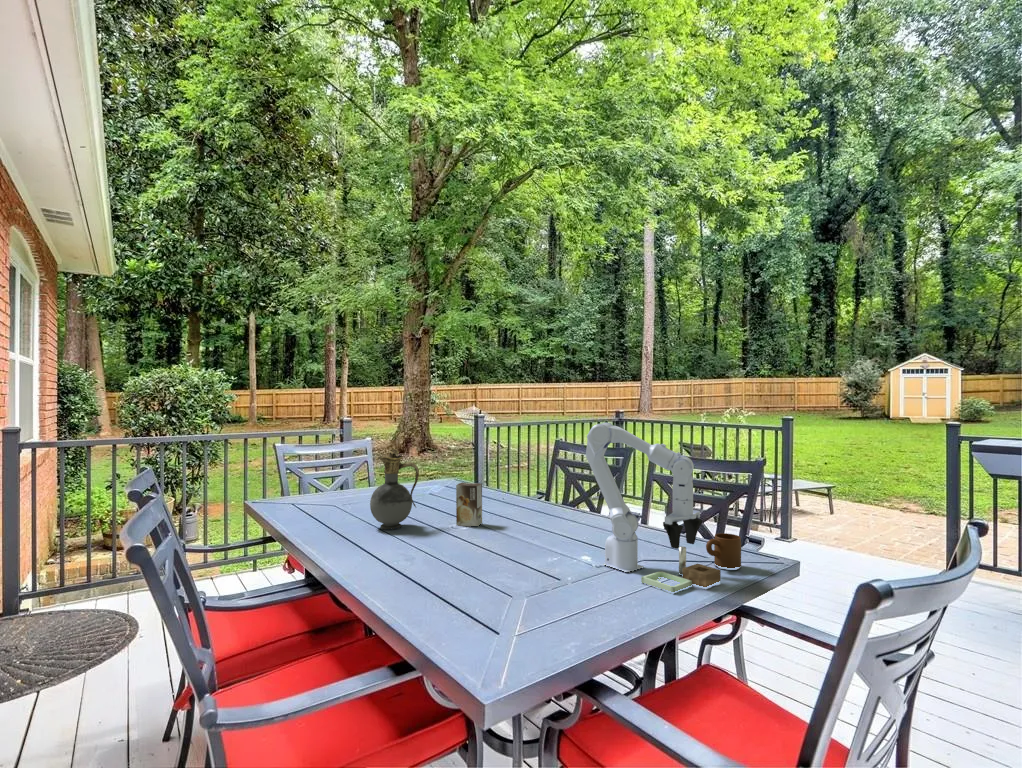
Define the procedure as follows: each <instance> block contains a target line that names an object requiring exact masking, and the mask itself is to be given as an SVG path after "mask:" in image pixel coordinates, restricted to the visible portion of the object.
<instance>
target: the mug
mask: <svg viewBox="0 0 1022 768" xmlns="http://www.w3.org/2000/svg"><path fill="white" fill-rule="evenodd" d="M713 546H714V548H712V547H713ZM705 549H706V552H707V554H709V555H710V557H711V556H713V557H714V563H713V564H714V565H715V564H716V565H718V566H721V567H727V568H735V567H740V566H741V567H742V538H741V536H739V535H737V534H734V533H733V534H732V533H726V532H725V533H724V532H723V533H721V532H720V533H716V534H715V535H714V538H710V539H708V541H707V542H706V545H705Z"/></svg>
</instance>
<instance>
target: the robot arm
mask: <svg viewBox="0 0 1022 768" xmlns="http://www.w3.org/2000/svg"><path fill="white" fill-rule="evenodd" d="M586 438H587V440H586V441H587V443H586V451H585V457H586V460H587V462H588V465H589V466H590V470H591V471H592V473H593V475H594V478H595V480H596V482H597V485H598V487H599V490H600V492H601V494H602V497H603V498H604V501H605V504H606V505H607V509H608V510H609V520H610V521H611V532H612V534H611V535H608V537H607V538H606V539H605V543H604V563H603V565H602V566H604V565H606V566H605V567H607V566H610V567H613V568H616V569H619V570H622V571H624V572H623V573H625V572H629V573H631V572H630V571H632V572H635V571H634V570H636V571H638V570H637V569H639V570H641V569H640V568H642V567H644V566H643V565H640V564H639V563H638V556H639V555H638V551H639V549H638V548H639V547H638V546H639V545H638V542H639V541H638V540H639V539H638V538H639V537H638V535H637V534H636V532H637V530H638V528H639V520H638V517H637V516H636V515H634V514H633V513H632V511H631V510H630V507H629V506H628V505H627V504H626V502H625V500H624V498H623V496H622V494H621V491H620V489H619V487H618V485H617V483H616V480H615V479H614V476H613V473H612V472H611V469H610V467H609V465H608V462H607V460H606V458H605V454H606V452H607V449H608V446H609V445H610V444H616V443H617V444H618V443H622V444H625V445H626V446H628V447H631V448H633V449H635V450H637V451H638V452H641V453H642V454H646V457H647V459H648V461H649V462H651V463H653V464H654V465H656V466H658V467H660V468H663V469H665V470H666V471H671V474H672V475H673V477H672V479H673V481H672V512H671V513H670V514H668V515H666V516H664V521H663V522H662V526H663V528H664V530H665V531H666V533H667V536H668V540H669V543H670V544H669V545H670V548H671V549H677V550H679V547H680V540H681V534H682V531H683V528H684V530H685V540H686V543H687V544H690V545H694V544H695V543H696V538H697V535H698V532H699V529H700V527H701V525H702V524H703V519H700V518H701V511H700V510H696V509H694V483H693V480H694V478H693V471H694V470H695V469H694V467H695V465H694V462H693V461H692V459H691V458H689V456H687V455H682V453H681V452H678V451H677V452H676V451H674V450H671V449H670V448H668V447H667V445H666V444H664V443H661V444H660V443H655V444H651V443H650V442H647V441H645V440H644V439H642V438H640V437H638V436H636V435H634V434H633V433H631V432H629V431H628V430H625V429H624V428H622V427H620V426H617V425H613V424H612V423H611V422H602V423H597V424H596V423H595V425H593V426H592V427H591V428H590V430H589V431H588V433H587V435H586ZM679 522H683V525H681V524H679ZM610 567H609V568H610ZM613 568H612V569H613ZM644 568H645V567H644ZM616 569H615V570H616ZM642 569H643V568H642ZM619 570H618V571H619ZM622 571H621V572H622Z"/></svg>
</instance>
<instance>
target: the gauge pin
mask: <svg viewBox="0 0 1022 768" xmlns="http://www.w3.org/2000/svg"><path fill="white" fill-rule="evenodd" d="M685 567H687V547H686V546H679V549H678V574H679V573H680V574H683V568H685Z"/></svg>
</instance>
